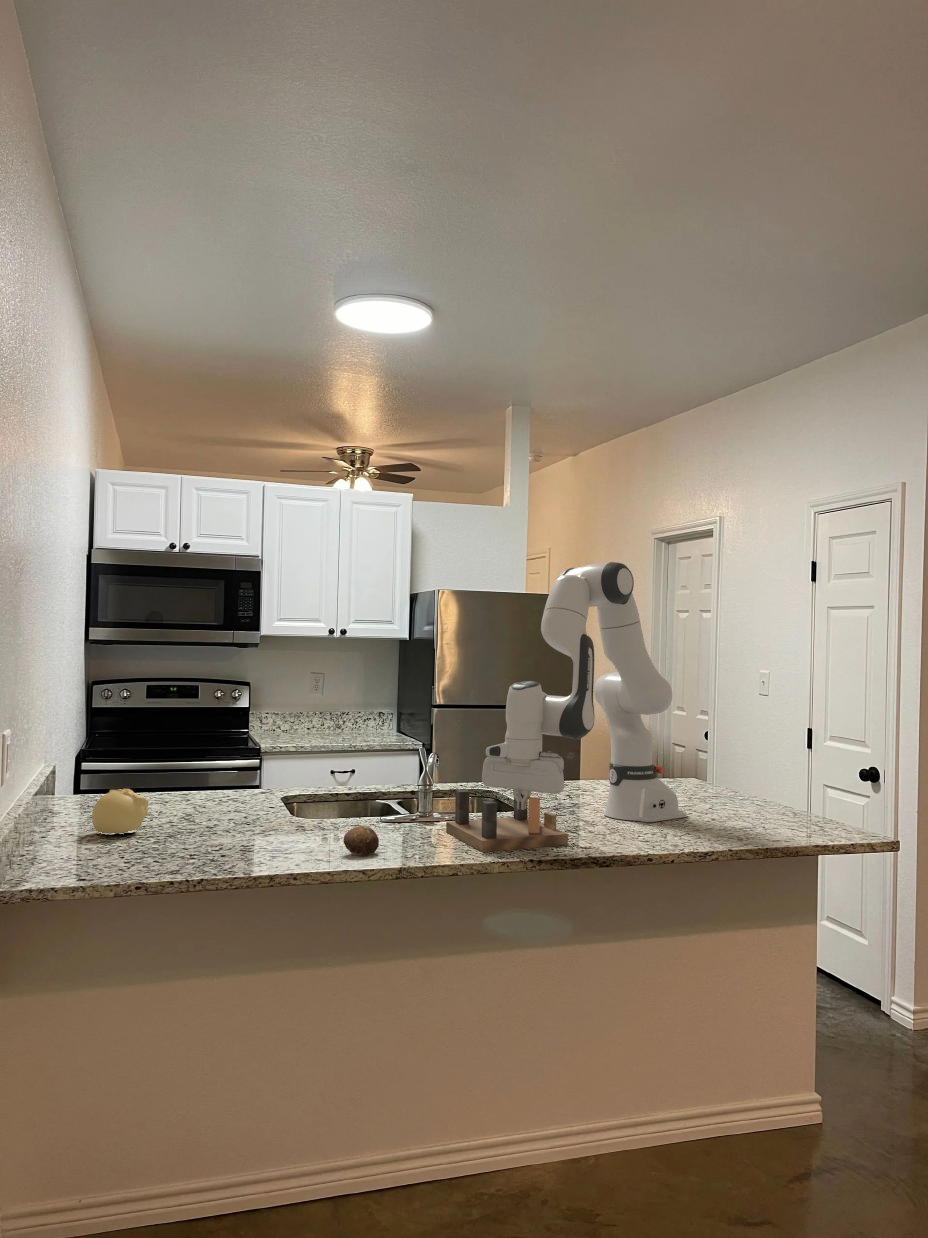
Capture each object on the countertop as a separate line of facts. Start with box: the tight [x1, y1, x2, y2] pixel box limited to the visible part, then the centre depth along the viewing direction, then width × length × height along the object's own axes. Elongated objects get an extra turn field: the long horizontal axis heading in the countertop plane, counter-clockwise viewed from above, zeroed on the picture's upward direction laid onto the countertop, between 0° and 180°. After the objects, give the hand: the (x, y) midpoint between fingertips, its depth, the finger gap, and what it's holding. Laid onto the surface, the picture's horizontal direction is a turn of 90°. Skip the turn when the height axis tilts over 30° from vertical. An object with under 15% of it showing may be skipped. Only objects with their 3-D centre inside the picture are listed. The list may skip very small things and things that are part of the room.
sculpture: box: [91, 788, 149, 833], centre depth 223 cm, size 12×12×11 cm
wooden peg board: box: [445, 789, 569, 853], centre depth 225 cm, size 22×22×10 cm
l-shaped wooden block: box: [527, 796, 541, 833], centre depth 222 cm, size 9×3×8 cm, turn 174°
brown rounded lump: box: [342, 825, 380, 857], centre depth 208 cm, size 8×8×6 cm
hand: (521, 809), depth 220 cm, fingers closed
